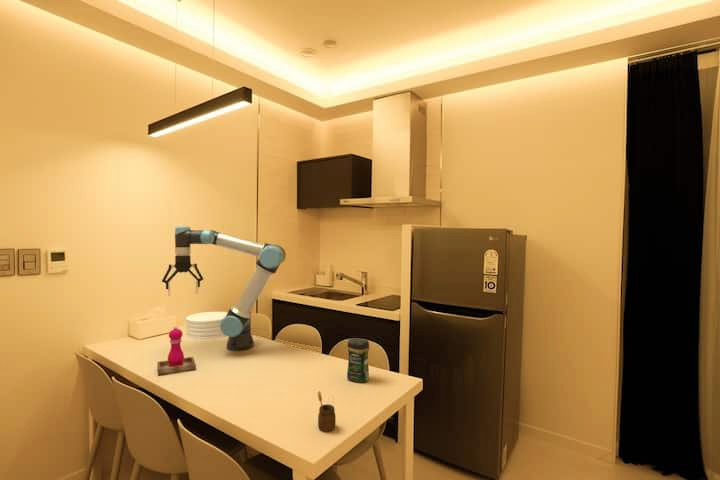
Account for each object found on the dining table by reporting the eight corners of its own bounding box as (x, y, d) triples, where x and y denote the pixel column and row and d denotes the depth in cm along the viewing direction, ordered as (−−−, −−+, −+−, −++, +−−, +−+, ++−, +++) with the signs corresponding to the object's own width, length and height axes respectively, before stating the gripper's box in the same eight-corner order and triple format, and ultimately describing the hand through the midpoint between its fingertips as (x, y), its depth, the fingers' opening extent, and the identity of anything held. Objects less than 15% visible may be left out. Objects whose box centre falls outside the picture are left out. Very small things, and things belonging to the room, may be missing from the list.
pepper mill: (178, 370, 183) (177, 328, 183) (164, 369, 184) (163, 327, 184) (187, 364, 190) (186, 324, 190) (173, 364, 191) (173, 323, 191)
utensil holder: (330, 433, 128) (330, 398, 128) (314, 429, 131) (314, 394, 131) (338, 425, 134) (338, 391, 133) (322, 421, 136) (322, 388, 136)
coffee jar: (344, 380, 174) (344, 339, 173) (353, 374, 181) (353, 335, 180) (363, 384, 169) (363, 342, 168) (371, 378, 176) (371, 338, 175)
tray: (193, 362, 196) (192, 356, 196) (195, 370, 186) (195, 363, 186) (157, 367, 189) (157, 361, 189) (158, 376, 178) (158, 369, 178)
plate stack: (176, 338, 241) (176, 320, 240) (202, 327, 268) (202, 310, 268) (218, 340, 236) (218, 322, 236) (239, 329, 264) (239, 312, 263)
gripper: (206, 254, 217) (206, 291, 218) (156, 255, 205) (156, 295, 205) (208, 254, 210) (208, 293, 211) (156, 256, 198) (157, 297, 199)
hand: (183, 294), depth 208 cm, fingers open, 13 cm apart
